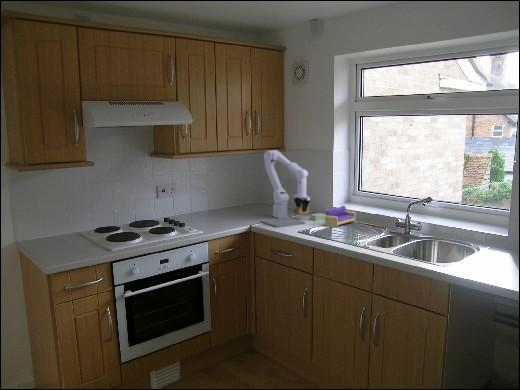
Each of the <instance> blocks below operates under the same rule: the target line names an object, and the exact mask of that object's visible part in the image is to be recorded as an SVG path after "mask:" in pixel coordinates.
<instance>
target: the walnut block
mask: <svg viewBox="0 0 520 390" xmlns="http://www.w3.org/2000/svg"><path fill="white" fill-rule="evenodd" d="M310 208H311V207H310V206H307V210H306V211H303V207H302V206H301V207H295V206H294V207H293V214H297V215H304V214H310Z"/></svg>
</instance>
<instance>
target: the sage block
mask: <svg viewBox="0 0 520 390" xmlns="http://www.w3.org/2000/svg"><path fill="white" fill-rule="evenodd" d="M325 215H326V213H321V212H320V213H312V214H310V215H309V217H310V218H309V220H310V219H311V220H310V221H314V222H318V220H319V221H325Z"/></svg>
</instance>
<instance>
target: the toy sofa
mask: <svg viewBox="0 0 520 390" xmlns="http://www.w3.org/2000/svg"><path fill="white" fill-rule="evenodd" d="M356 215H357V213H356V211H349V210H346V206H345V205H340V206H339V207H335V208H331V209H328V208H326V209H325V220H324V226H325V227H329V228H336V229H338V228H339V225H343V224H347V223H351V222H355V223H356Z"/></svg>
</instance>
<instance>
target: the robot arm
mask: <svg viewBox="0 0 520 390" xmlns="http://www.w3.org/2000/svg"><path fill="white" fill-rule="evenodd" d="M263 160H264V169H265V170H266V172H267V176H268V177H269V182H270V183H271V185H272V188H273V193H272V196H273V201H274V204H273V205H272V216H274V217H273V218H276V217H277V218H285V217H289V218H290V216H289V215H288V202H289V200H290V195H289V194H288V192H287V191H286V189H284V188H283V187H282V183H281V182H280V179H279V176H278V173H277V170H276V169H275V164H276V163H277V161H279V162H281V164H283V165H284V166H286V167H287V170H288V171H290V172H291V173H292V174H293V175H294V176H295V177H296V182H297V185H296V186H297V187H296V194H293V201H294V203H295V205H296V207H303V211H306V210H307V207H309V204H310V201H311V197H310V196H309V195H307V184H308V183H307V179H308V176H309V172H308V170H307V169H305V168H303V167H301V166H300V165H298V163H297V162H291V160H289V159H288V158H287V157H286V156H285V155H283V154H282V152H281V151H279V149H278V150H277V149H273V150H270V149H269V150H266V151H265V152H264V154H263ZM277 218H276V219H277Z"/></svg>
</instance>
